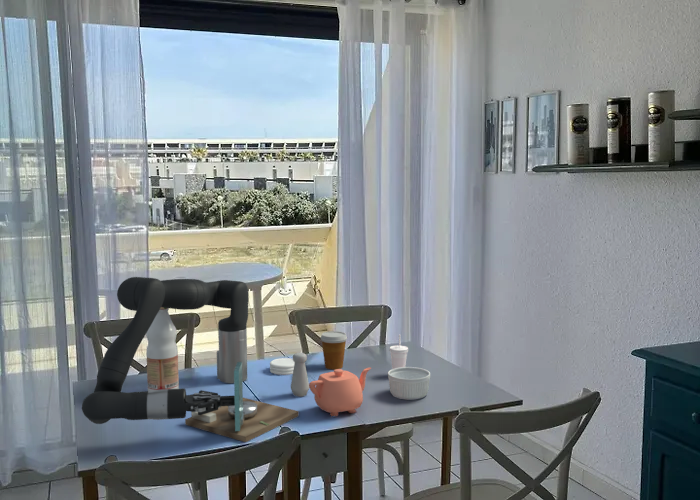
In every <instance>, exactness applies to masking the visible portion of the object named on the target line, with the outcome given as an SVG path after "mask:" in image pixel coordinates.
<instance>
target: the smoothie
mask: <svg viewBox="0 0 700 500" xmlns="http://www.w3.org/2000/svg"><path fill="white" fill-rule="evenodd" d="M388 351H389V352H390V358H391V360H390V361H391V368H392V369H395V368H400V367H406V365H407V363H406V362H407V358H408V352H409V347H408V346H406V345H402V343H401V334H398V344H397V345H391V346H390V347H389V350H388ZM392 369H391V370H392Z"/></svg>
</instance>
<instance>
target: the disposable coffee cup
mask: <svg viewBox="0 0 700 500" xmlns="http://www.w3.org/2000/svg"><path fill="white" fill-rule="evenodd" d="M347 340H348V337H347V333H346V332H343V331H337V330H336V331H334V330H332V331H324V332H322V333H321V336H320V342H321V345H322V354H323V362H324V369H326V370H333V371H334V370H335V369H343V367H344V358H345V351H346V346H347V345H346V342H347Z"/></svg>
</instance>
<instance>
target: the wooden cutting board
mask: <svg viewBox="0 0 700 500" xmlns="http://www.w3.org/2000/svg"><path fill="white" fill-rule="evenodd" d="M243 401H249V402H254V403H256V404H257V414H256V415H255V416H252V417H249V418H245V419H244V423H243V425H242V426H241V429H240V431H235V418H233V417H230V416H229V415H228V406H221V407H220V408H218V410H216V411H212V412H209V413H206V414H203V415H198V412H190V413H191V416H190V417H187V418H184V419H185V423H184V424H185V426H187V427H192V428H195V429H199V430H202V431H207V432H210V433H211V434H216V435H219V436H222V437H223V436H224V437H226V438H229V439H233V440H237V441H240V442H243V443H247V442H250V441H251V439H252V440H253V438H254V439H256V438H258V437H259V436H261V435H264V434H266V433H268V432H269V431H271V430H273V429H275V428H278V427H279V426H282V425H284V424H286V423H288V422H290V421H292V420H294V419H297V417H298V418H299V416H300V415H299V414H300V413H299V410H295V409H291V408H288V407H284V406H281V405H275V404H270V403H267V402H262V401H260V400H259V401H258V400H255V399H250V398H247V397H243ZM255 437H256V438H255Z"/></svg>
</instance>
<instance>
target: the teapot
mask: <svg viewBox="0 0 700 500" xmlns="http://www.w3.org/2000/svg"><path fill="white" fill-rule="evenodd" d="M370 370H372V367H367V368H364V369H363V370H362V371H361V373H360V376H359V377H358V376H357V375H356V374H354V373H352V372H350V371H348V370H344V369H343V368H341V369H335V370H333V371H329V372H324V373H321V374H319V376H318V378H317V380H312V381H310V382H309V390H310V391H311V393H312V394H313V396H314V401H315V404H316V406H318V407H319V408H320V410H321V409H322V410H321V411H325V412H327V413H330V414H329V416H330V415H331V416H330V417H332V416H336V417H338V416H339V413H342V412H348V413H349V414H355V413H357V410H356V409H359V408H361V406H362V404H363V402H364V394H363V391H364V390H365V387H366V380H367V379H366V377H367V373H368V372H369V371H370Z"/></svg>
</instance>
